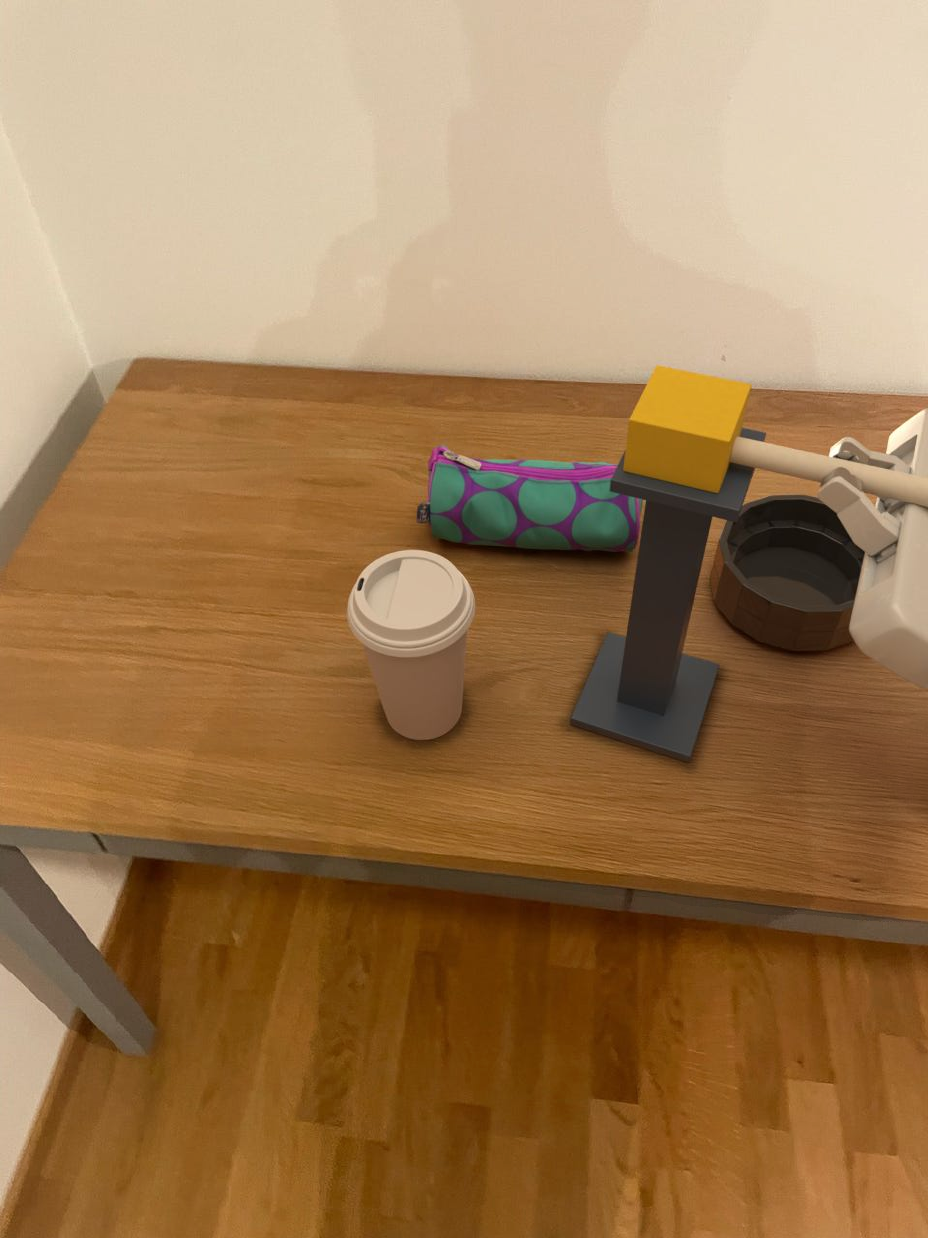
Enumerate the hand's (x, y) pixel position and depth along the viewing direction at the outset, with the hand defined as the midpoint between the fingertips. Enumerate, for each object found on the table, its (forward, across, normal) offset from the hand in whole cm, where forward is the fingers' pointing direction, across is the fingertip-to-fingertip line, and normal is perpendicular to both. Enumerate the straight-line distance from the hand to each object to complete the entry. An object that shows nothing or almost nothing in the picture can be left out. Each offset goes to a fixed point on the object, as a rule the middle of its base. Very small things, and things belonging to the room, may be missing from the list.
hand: (831, 464), depth 55 cm
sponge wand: (+1, 0, -3) cm, 3 cm away
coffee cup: (+8, -8, -37) cm, 38 cm away
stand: (-7, 0, -28) cm, 29 cm away
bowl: (-14, +16, -24) cm, 32 cm away
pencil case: (+7, +15, -36) cm, 40 cm away
